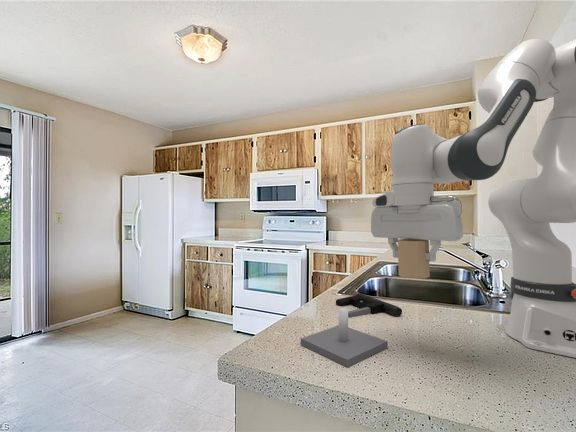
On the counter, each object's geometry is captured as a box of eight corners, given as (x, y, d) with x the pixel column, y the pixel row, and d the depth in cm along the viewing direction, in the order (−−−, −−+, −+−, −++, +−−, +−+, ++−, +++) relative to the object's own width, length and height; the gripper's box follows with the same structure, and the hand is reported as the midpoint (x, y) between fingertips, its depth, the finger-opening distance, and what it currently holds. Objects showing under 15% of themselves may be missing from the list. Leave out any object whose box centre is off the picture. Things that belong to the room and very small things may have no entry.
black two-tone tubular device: (362, 316, 86) (405, 305, 92) (324, 299, 104) (362, 291, 111) (362, 328, 86) (405, 316, 92) (325, 309, 104) (363, 300, 111)
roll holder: (387, 347, 70) (387, 310, 70) (347, 367, 61) (347, 324, 61) (340, 330, 81) (340, 298, 81) (300, 344, 72) (300, 308, 72)
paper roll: (434, 275, 69) (433, 239, 69) (420, 279, 65) (419, 241, 65) (408, 271, 74) (407, 238, 74) (393, 275, 70) (392, 240, 70)
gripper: (467, 195, 63) (469, 262, 63) (381, 200, 79) (382, 254, 79) (454, 194, 59) (456, 266, 59) (366, 200, 75) (367, 256, 75)
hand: (413, 259), depth 69 cm, fingers closed on paper roll, 6 cm apart
